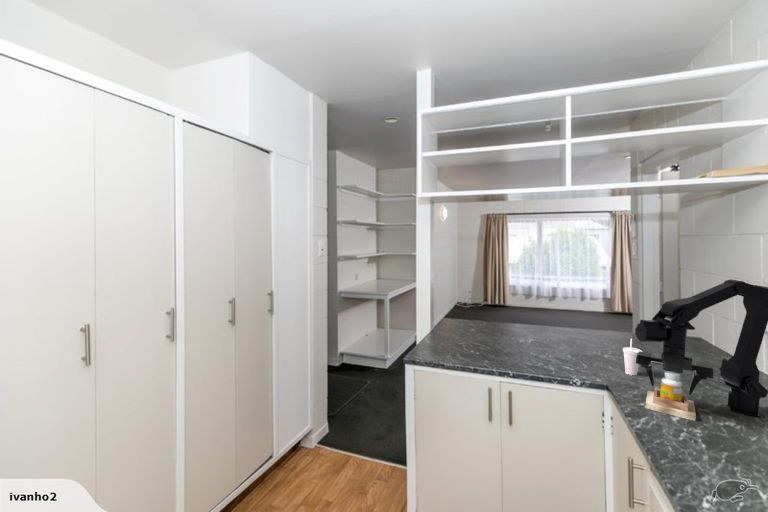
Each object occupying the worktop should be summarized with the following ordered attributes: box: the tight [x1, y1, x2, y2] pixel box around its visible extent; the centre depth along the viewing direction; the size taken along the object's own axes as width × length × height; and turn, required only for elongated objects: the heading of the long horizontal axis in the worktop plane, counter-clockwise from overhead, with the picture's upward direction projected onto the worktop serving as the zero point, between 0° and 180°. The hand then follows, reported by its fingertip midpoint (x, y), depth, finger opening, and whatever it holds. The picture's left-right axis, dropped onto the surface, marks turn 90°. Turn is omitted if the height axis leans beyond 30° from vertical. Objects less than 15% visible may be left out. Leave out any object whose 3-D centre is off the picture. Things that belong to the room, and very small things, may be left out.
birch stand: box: [644, 387, 697, 422], centre depth 114 cm, size 12×12×4 cm
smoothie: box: [622, 338, 643, 376], centre depth 140 cm, size 6×6×14 cm
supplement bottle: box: [660, 370, 684, 403], centre depth 114 cm, size 5×5×10 cm
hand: (670, 390), depth 114 cm, fingers open, 9 cm apart
